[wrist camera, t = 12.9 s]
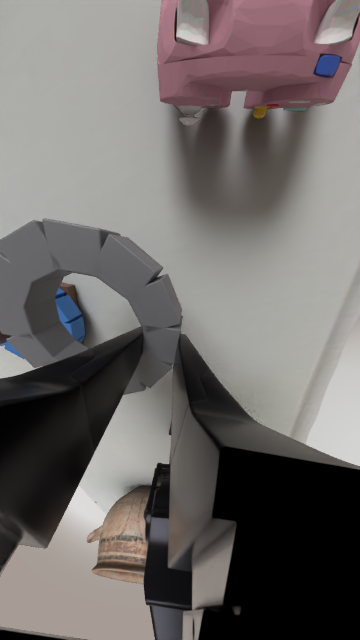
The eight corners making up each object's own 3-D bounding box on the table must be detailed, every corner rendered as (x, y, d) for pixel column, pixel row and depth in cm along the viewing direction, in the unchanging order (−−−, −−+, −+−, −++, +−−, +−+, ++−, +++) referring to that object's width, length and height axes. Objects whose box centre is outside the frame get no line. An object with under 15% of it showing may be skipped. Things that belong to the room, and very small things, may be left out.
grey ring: (169, 383, 12) (166, 406, 10) (47, 362, 12) (21, 381, 10) (195, 247, 8) (197, 246, 6) (0, 211, 8) (-59, 199, 6)
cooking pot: (112, 498, 46) (88, 576, 35) (97, 471, 38) (59, 562, 27) (192, 506, 44) (192, 591, 33) (194, 480, 36) (195, 580, 25)
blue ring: (89, 358, 20) (78, 369, 18) (12, 345, 20) (-6, 354, 18) (78, 282, 15) (63, 286, 13) (-21, 264, 15) (-49, 266, 13)
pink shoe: (167, 126, 12) (149, 123, 7) (162, -9, 8) (123, -165, 4) (292, 128, 11) (349, 126, 7) (346, -13, 8) (527, -192, 3)
